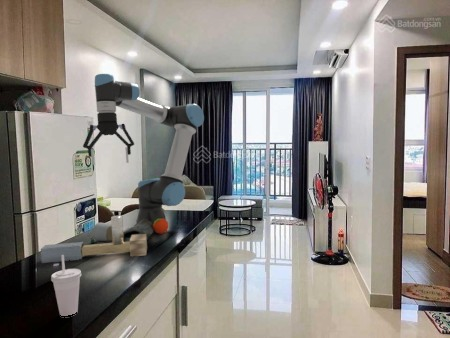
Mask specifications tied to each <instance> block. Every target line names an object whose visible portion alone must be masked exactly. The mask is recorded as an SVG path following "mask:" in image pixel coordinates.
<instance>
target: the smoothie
mask: <svg viewBox="0 0 450 338" xmlns="http://www.w3.org/2000/svg"><path fill="white" fill-rule="evenodd" d="M61 258H62V261H61V270H59V271H56V272H54V273H52V274H51V276H50V277H51V278H50V281H51V282H52V283H53V288H54V291H55V292H54V293H55V298H56V302H57V307H58V312H59V316H60V315H61V316H68V315H72V314H75V313H76V312H77V313H78V310H79V294H80V282H81V281H80V279H81V276H82V271H81V269H79V268H67V269H66V266H65V261H64V255H61ZM75 315H76V314H75ZM61 316H60V317H61Z"/></svg>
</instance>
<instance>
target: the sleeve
mask: <svg viewBox="0 0 450 338" xmlns="http://www.w3.org/2000/svg"><path fill="white" fill-rule="evenodd" d="M82 245H85V243H84V241H80V242H66V243H55V244H53V243H51V244H45V245H44V246H42V248H40V254H41V255H40V257H41V259H40V260H41V264H46V263H58V262H62V258H61V255H64V262H68V261H69V260H70V261H80V260H79V259H81V260H83V258H84V257H85V256H82V253H81V247H82Z"/></svg>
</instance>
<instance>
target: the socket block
mask: <svg viewBox="0 0 450 338" xmlns="http://www.w3.org/2000/svg"><path fill="white" fill-rule="evenodd" d="M147 240H148V239H147V237H146V234H137V235H131V238H130V252H129V253H130V255H129V256H130V257H141V256H142V257H143V256H147V251H148V241H147Z"/></svg>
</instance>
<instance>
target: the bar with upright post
mask: <svg viewBox="0 0 450 338" xmlns="http://www.w3.org/2000/svg"><path fill="white" fill-rule="evenodd" d="M110 219H111V221H110V223H111V224H112V241H111V242H109V243H108V242H107V243H94V244H84V245H82V247H81V253H82V256H84V257H85V256H97V255H104V254H105V255H107V254H118V253H120V254H121V253H128V252H129V253H130V241H129V242H124V220H123V215H112V216H111V217H110Z"/></svg>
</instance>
